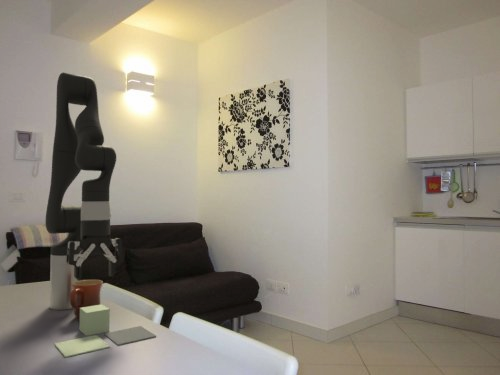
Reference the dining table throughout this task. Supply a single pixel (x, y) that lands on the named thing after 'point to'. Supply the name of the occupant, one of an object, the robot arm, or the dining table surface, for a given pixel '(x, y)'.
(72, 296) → the mug
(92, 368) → the dining table surface
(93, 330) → the pale green cube
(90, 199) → the robot arm
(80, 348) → the sage pad
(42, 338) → the dining table surface
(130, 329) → the grey pad
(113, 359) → the dining table surface
